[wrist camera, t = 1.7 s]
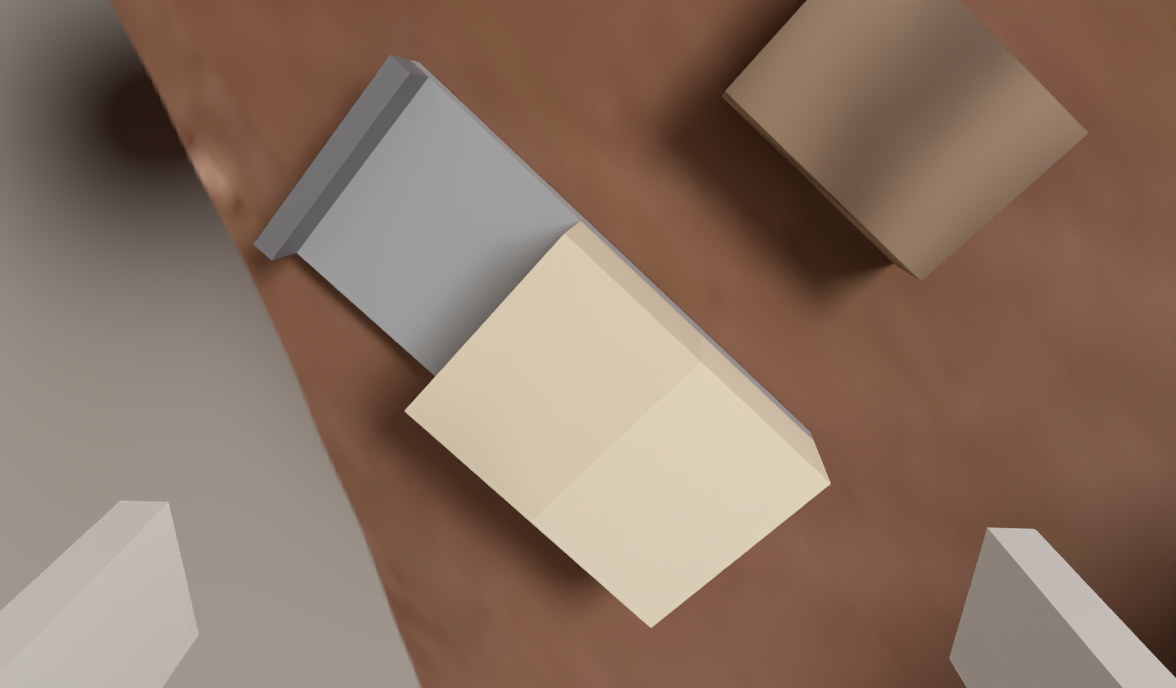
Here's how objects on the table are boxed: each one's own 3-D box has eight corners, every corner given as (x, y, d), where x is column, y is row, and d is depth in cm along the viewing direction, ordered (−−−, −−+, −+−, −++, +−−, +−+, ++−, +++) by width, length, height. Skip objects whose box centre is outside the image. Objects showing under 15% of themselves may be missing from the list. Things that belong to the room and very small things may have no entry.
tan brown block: (720, 96, 29) (724, 91, 25) (853, -51, 26) (880, -82, 23) (891, 262, 29) (921, 281, 26) (1033, 133, 27) (1088, 133, 24)
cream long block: (419, 62, 29) (367, 48, 25) (809, 431, 32) (830, 483, 27) (291, 234, 33) (223, 251, 28) (656, 560, 35) (650, 628, 30)
